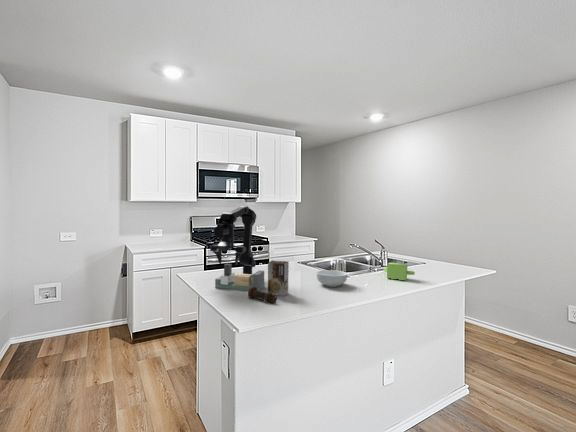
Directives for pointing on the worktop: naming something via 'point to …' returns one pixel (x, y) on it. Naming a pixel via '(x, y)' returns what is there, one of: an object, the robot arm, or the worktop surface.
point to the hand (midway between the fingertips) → (228, 264)
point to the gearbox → (397, 271)
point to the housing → (243, 279)
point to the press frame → (257, 282)
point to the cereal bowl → (331, 277)
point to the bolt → (261, 295)
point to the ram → (227, 275)
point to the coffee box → (278, 277)
